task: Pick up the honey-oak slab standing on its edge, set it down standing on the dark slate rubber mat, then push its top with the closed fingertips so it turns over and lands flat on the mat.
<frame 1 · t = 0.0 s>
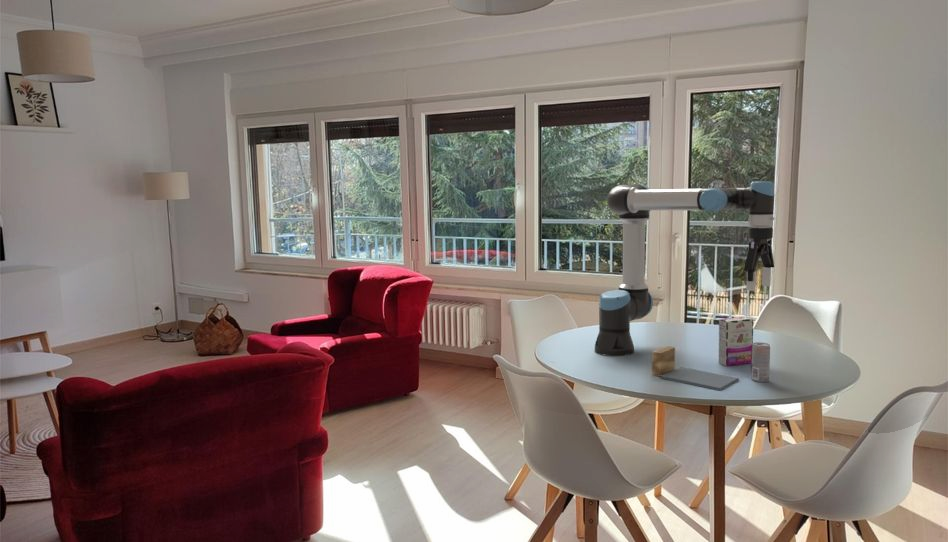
hand: (758, 288, 216), 28 cm above the table, fingers open, 13 cm apart
slab: (663, 372, 216), on the table
candy bar box: (735, 364, 225), on the table
mat: (699, 379, 207), on the table
energy drink: (760, 380, 205), on the table
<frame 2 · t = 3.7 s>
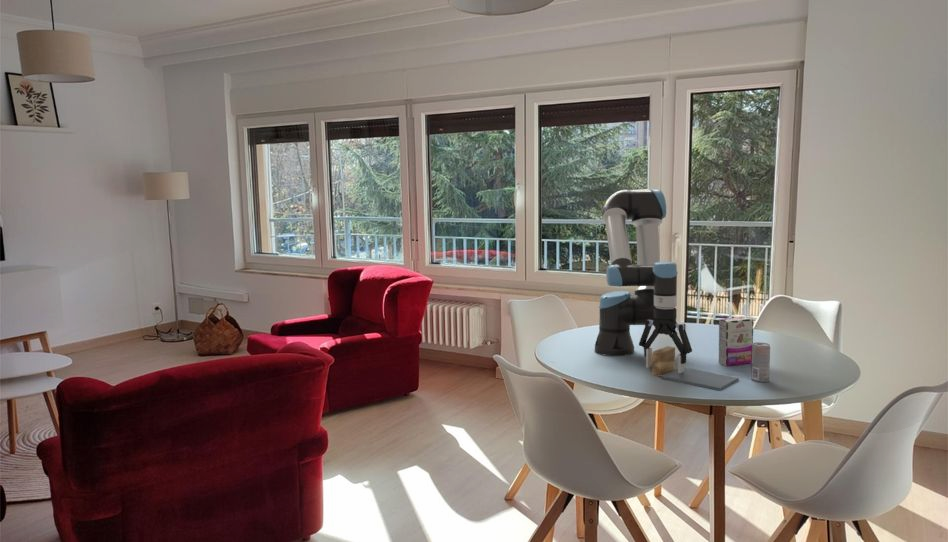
hand: (664, 369, 216), 1 cm above the table, fingers open, 11 cm apart
nothing on the table moved.
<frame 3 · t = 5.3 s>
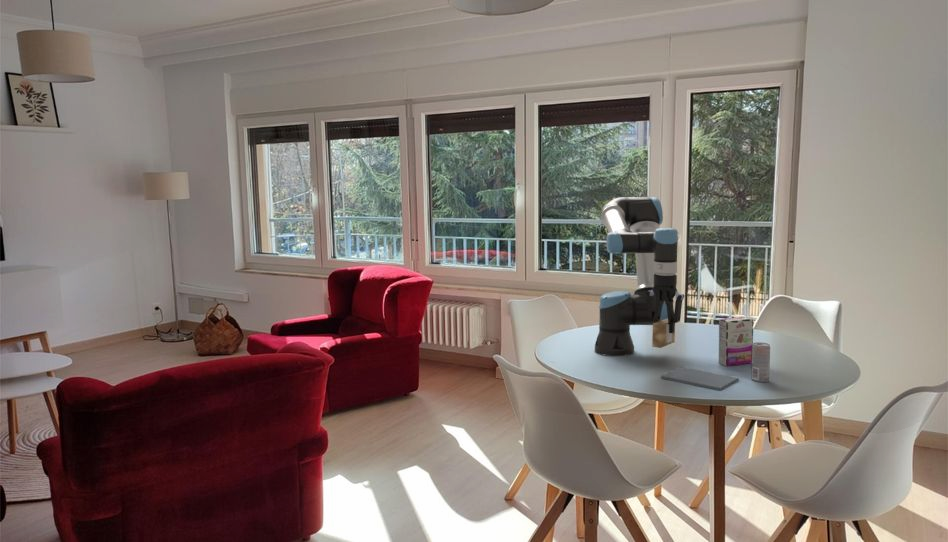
hand: (663, 340, 215), 11 cm above the table, fingers closed on slab, 3 cm apart
slab: (663, 344, 215), point 10 cm above the table, touching gripper
everything else where it was.
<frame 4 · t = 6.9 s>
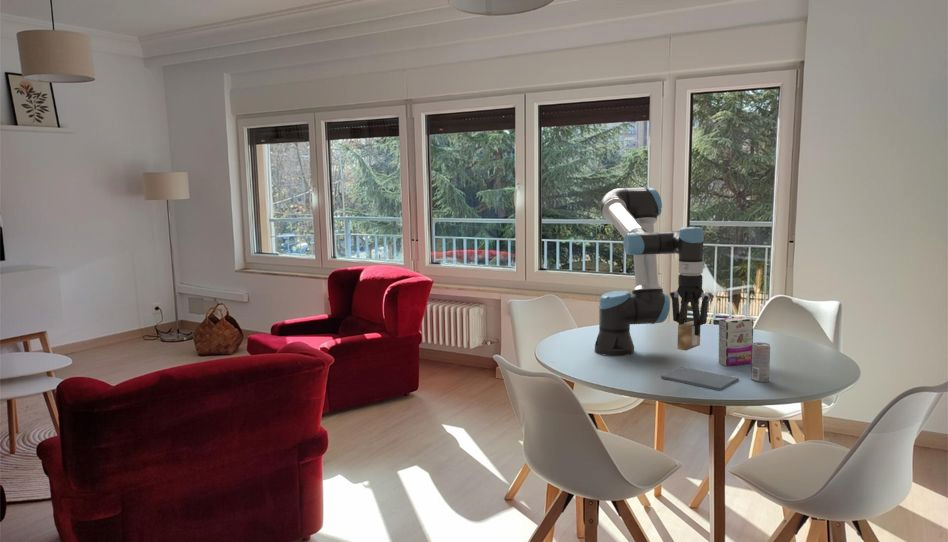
hand: (689, 343, 208), 11 cm above the table, fingers closed on slab, 3 cm apart
slab: (688, 347, 208), point 10 cm above the table, touching gripper
everything else where it was.
when the fingers open (1 cm above the table, at t = 8.8 s): slab stays where it is, resting on mat.
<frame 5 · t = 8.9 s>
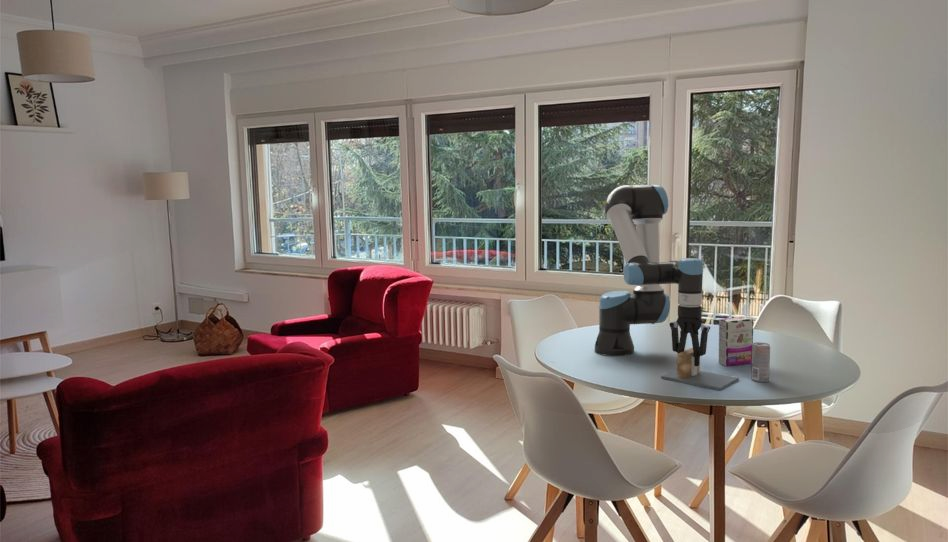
hand: (688, 373, 209), 1 cm above the table, fingers open, 3 cm apart
slab: (688, 374, 210), point 1 cm above the table, touching mat
everything else where it was.
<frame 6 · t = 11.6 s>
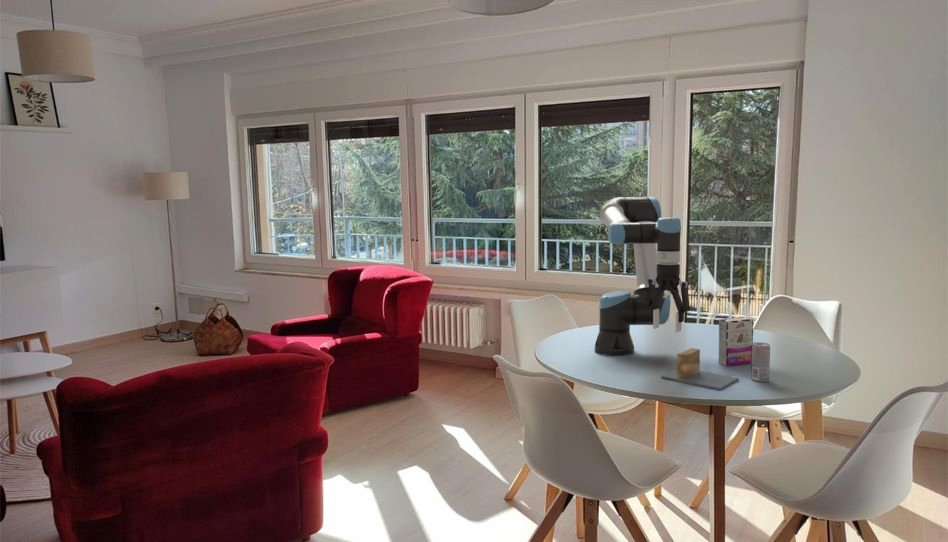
hand: (667, 329, 214), 15 cm above the table, fingers open, 8 cm apart
nothing on the table moved.
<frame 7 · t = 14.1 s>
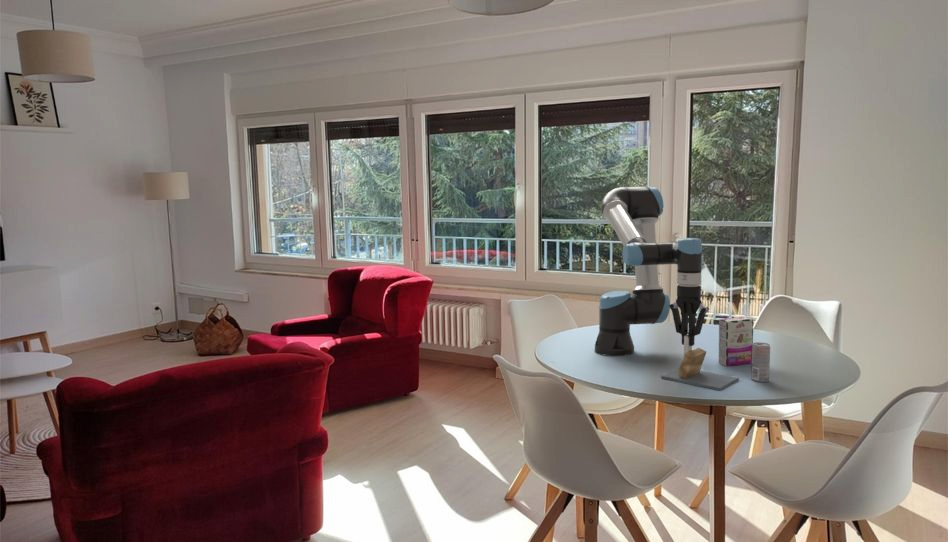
hand: (687, 354, 209), 8 cm above the table, fingers closed
slab: (688, 373, 209), point 1 cm above the table, tilted 17°, touching mat
everything else where it was.
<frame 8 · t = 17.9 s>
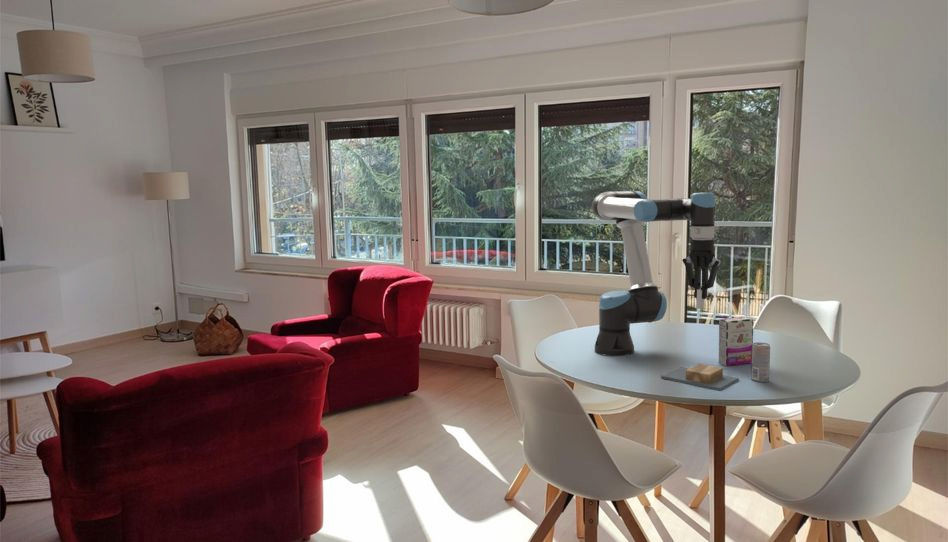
hand: (700, 307, 213), 22 cm above the table, fingers closed
slab: (692, 371, 208), point 2 cm above the table, tilted 90°, touching mat
everything else where it was.
at the end: slab tilted 90°; slab inside the target area on the mat (2.3 cm from its centre), point 2.3 cm above the mat's base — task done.
